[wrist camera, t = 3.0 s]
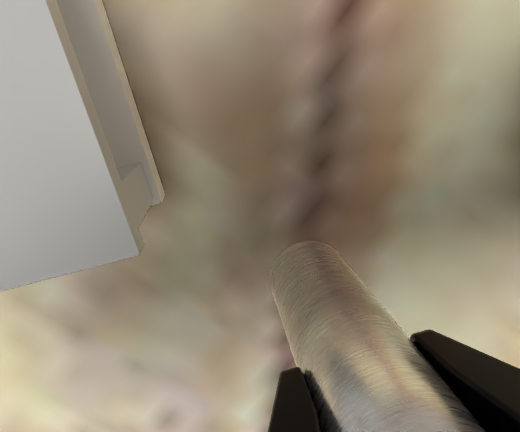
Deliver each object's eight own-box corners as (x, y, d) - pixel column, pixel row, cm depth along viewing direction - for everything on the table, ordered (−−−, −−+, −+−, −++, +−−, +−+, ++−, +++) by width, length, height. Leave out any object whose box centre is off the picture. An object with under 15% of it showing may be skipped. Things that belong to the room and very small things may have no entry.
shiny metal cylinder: (339, 231, 11) (1028, 955, 2) (349, 298, 12) (865, 1041, 3) (261, 251, 11) (568, 1143, 2) (278, 318, 12) (548, 1174, 2)
